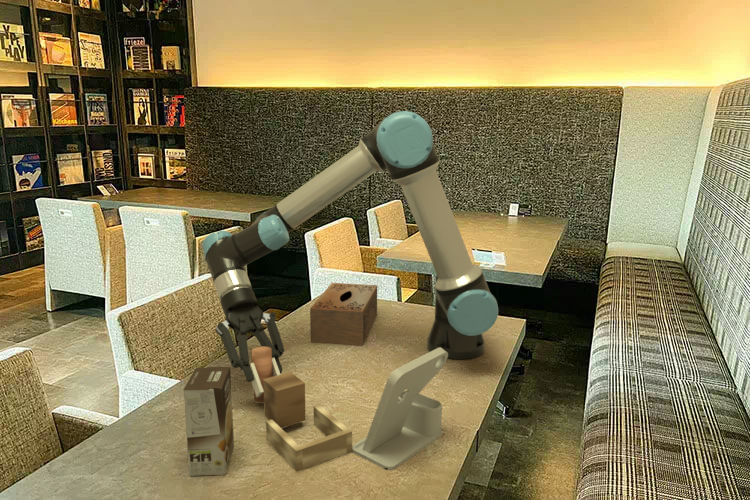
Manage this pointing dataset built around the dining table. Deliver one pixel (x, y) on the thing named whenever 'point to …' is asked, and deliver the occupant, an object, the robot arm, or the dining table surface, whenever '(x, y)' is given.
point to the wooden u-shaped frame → (317, 450)
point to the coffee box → (209, 420)
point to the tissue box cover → (343, 314)
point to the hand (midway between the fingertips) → (270, 391)
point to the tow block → (279, 391)
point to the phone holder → (404, 414)
